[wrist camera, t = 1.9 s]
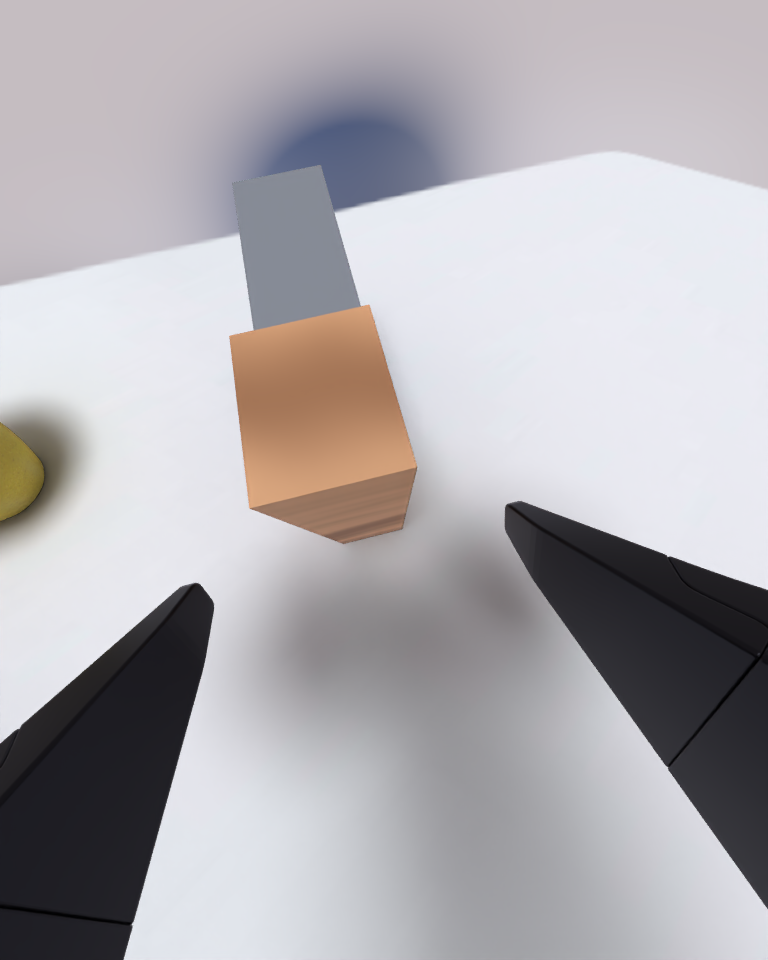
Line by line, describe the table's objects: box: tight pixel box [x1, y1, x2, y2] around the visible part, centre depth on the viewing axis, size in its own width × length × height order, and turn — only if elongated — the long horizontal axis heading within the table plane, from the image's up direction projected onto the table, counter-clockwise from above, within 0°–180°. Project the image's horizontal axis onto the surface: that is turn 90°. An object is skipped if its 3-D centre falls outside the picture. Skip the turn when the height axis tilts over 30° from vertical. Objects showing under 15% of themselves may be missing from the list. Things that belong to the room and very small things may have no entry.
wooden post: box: [229, 305, 417, 544], centre depth 14 cm, size 5×4×13 cm
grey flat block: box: [232, 165, 361, 330], centre depth 17 cm, size 10×4×11 cm, turn 14°
